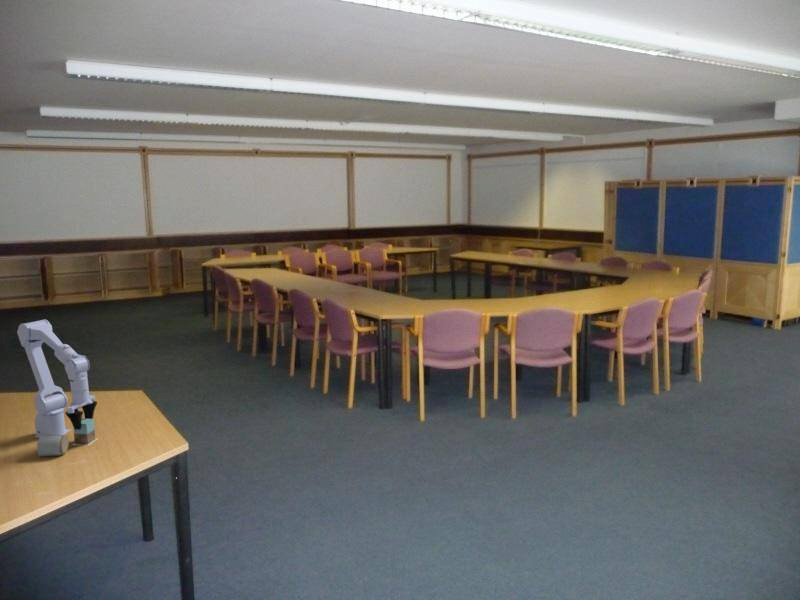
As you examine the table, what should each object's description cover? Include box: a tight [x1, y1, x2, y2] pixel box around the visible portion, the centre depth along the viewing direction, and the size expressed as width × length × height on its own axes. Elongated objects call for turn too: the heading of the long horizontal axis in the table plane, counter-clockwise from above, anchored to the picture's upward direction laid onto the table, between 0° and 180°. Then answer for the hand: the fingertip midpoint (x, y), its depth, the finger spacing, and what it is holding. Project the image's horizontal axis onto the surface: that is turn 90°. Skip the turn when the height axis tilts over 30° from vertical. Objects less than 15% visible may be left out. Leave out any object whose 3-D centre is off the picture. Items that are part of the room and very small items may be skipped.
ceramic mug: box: [36, 434, 70, 458], centre depth 226 cm, size 11×8×8 cm
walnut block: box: [73, 429, 96, 444], centre depth 235 cm, size 5×5×4 cm
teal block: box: [73, 418, 96, 435], centre depth 234 cm, size 5×5×4 cm
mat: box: [71, 437, 99, 446], centre depth 235 cm, size 10×9×1 cm
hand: (83, 425), depth 234 cm, fingers open, 7 cm apart
